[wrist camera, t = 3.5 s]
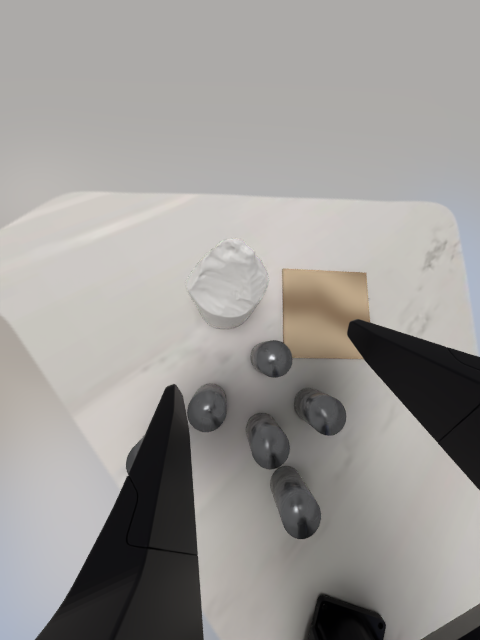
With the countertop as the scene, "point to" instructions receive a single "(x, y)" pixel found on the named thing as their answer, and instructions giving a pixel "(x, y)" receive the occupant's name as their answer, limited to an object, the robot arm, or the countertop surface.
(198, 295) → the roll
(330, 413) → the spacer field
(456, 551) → the countertop surface
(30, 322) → the countertop surface
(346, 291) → the mat
